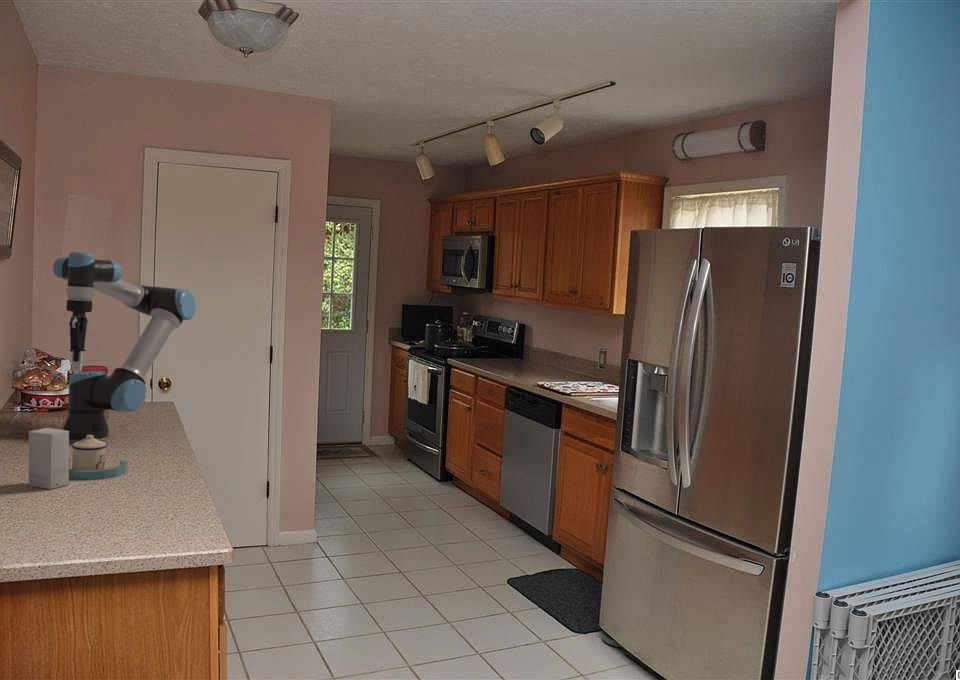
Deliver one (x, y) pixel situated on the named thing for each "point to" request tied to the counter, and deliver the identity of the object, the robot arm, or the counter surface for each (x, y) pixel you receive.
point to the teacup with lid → (88, 454)
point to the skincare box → (48, 458)
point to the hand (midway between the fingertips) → (76, 370)
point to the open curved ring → (99, 472)
